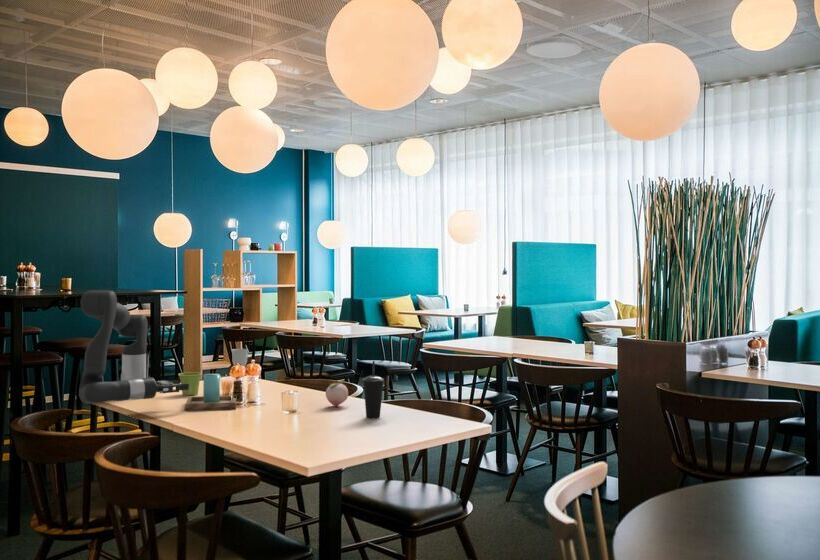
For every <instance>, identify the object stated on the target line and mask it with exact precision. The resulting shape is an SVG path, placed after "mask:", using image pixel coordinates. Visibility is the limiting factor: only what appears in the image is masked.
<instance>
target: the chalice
mask: <svg viewBox="0 0 820 560" xmlns="http://www.w3.org/2000/svg"><path fill="white" fill-rule="evenodd" d="M230 350H231V352H232V354H231V355H232V356H231V357H232V360H231V361H232V365H233V366H234V365H236V364H237V363H240V364H241V365H242V366H245V367H246V365H247V363H248V351H249V349H248V348H233V349H230Z"/></svg>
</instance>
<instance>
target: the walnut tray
mask: <svg viewBox="0 0 820 560" xmlns="http://www.w3.org/2000/svg"><path fill="white" fill-rule="evenodd" d="M231 396H232V395H220V402H219V403H203V396H202V395H200V396H188V397H187V400H186V401H185V402H186V403H185V411H220V410H221V411H223V410H236V409H237V408H236V407H237V397H236V398H234V397H233V402H232V401H231Z"/></svg>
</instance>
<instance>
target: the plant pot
mask: <svg viewBox="0 0 820 560" xmlns="http://www.w3.org/2000/svg"><path fill="white" fill-rule="evenodd" d="M177 375H178V377H179V381H180V384H186V383H187V384H189V389H188V390H181V394H182V396H188V397H190V396H196V395H198V394H199V387H200V381H201V376H202V375H203V373H202V372H196V371H195V372H191V371H190V372H182V373H178V374H177Z"/></svg>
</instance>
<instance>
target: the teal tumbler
mask: <svg viewBox="0 0 820 560" xmlns="http://www.w3.org/2000/svg"><path fill="white" fill-rule="evenodd" d="M220 382H221V375H220V373H205V374H203V383H202V384H203V388H202V389H203V393H202V394H203V403H219V402H220V396H221V387H220V386H221V385H220V384H221V383H220Z"/></svg>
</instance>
